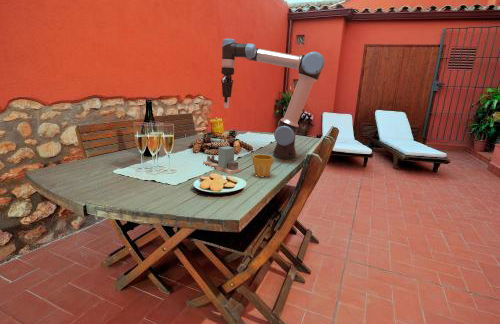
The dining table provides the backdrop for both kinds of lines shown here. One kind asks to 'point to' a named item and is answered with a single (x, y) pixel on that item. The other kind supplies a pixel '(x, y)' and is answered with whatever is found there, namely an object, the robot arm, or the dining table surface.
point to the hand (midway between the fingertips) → (226, 107)
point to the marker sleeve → (225, 156)
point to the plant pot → (262, 164)
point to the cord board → (230, 169)
